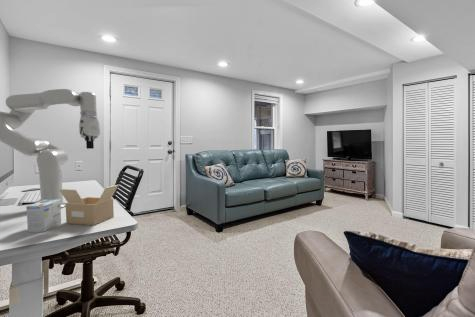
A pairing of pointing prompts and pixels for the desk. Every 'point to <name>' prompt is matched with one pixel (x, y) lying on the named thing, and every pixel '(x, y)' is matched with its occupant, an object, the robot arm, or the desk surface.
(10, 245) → the desk surface
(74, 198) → the flap
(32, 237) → the desk surface
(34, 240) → the desk surface
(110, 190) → the flap
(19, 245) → the desk surface
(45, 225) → the light bulb box
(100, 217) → the carton
